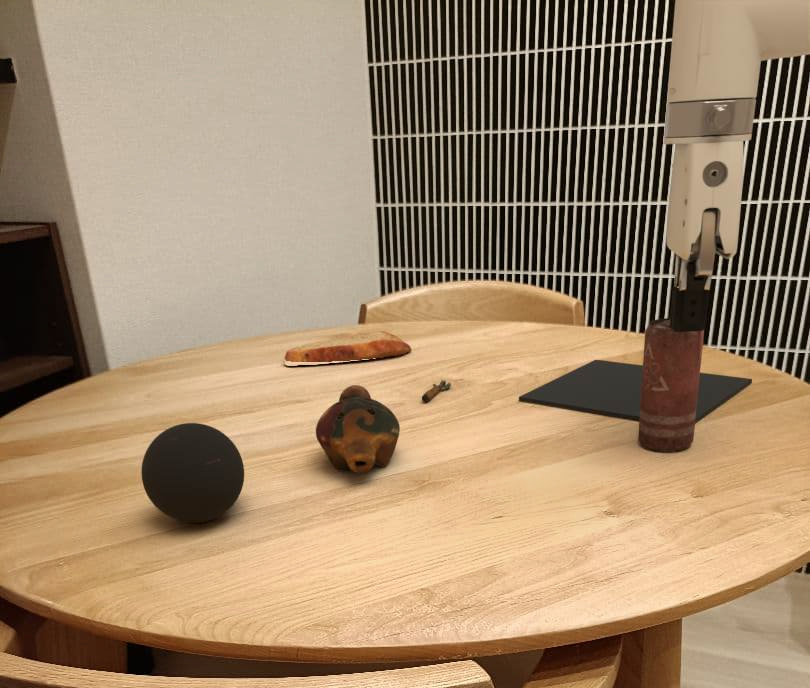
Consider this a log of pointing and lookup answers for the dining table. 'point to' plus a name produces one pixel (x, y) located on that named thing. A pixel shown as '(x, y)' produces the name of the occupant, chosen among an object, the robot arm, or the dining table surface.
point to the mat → (623, 390)
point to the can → (669, 387)
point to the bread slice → (350, 348)
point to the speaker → (192, 472)
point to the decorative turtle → (358, 431)
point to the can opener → (435, 390)
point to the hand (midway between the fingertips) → (687, 329)
